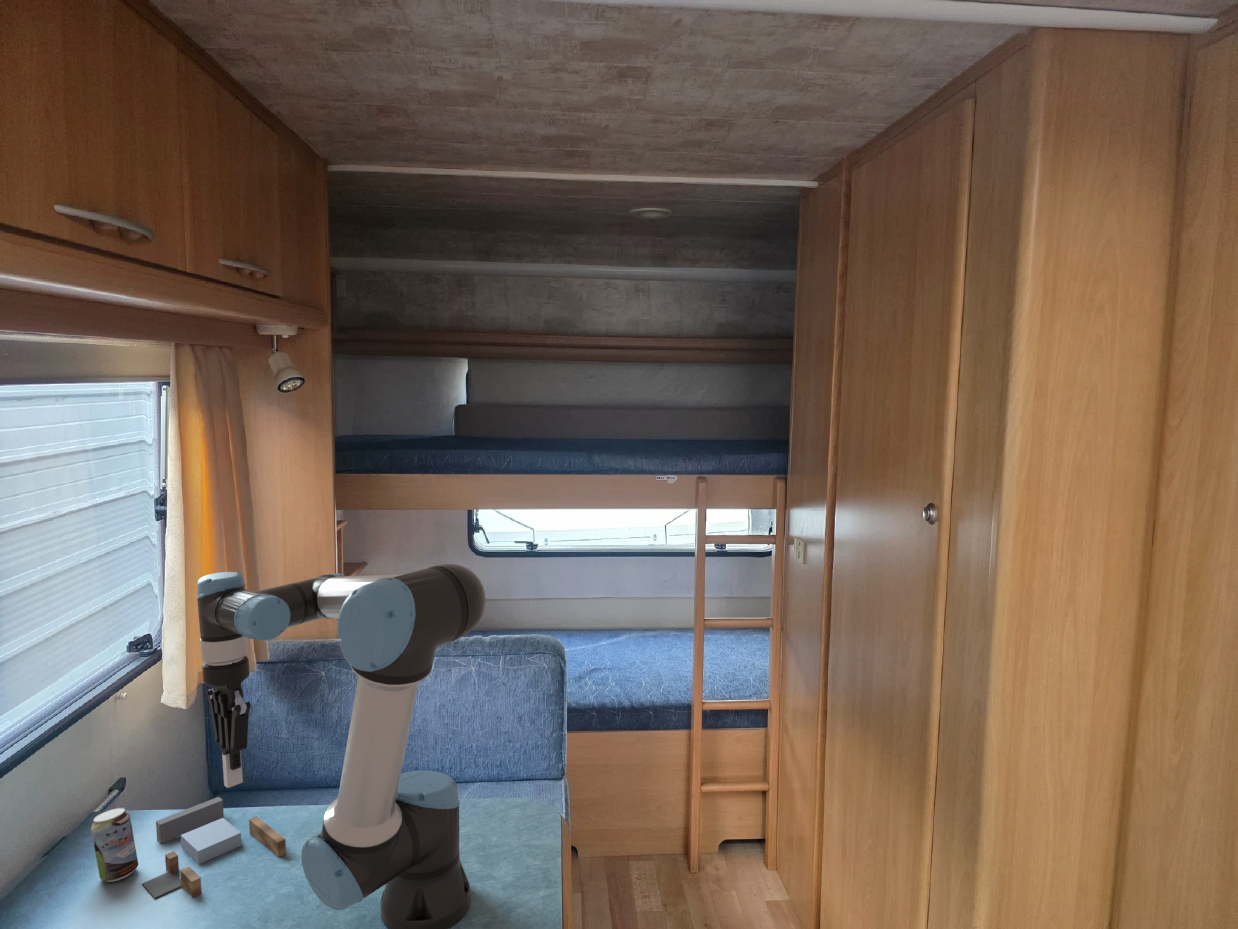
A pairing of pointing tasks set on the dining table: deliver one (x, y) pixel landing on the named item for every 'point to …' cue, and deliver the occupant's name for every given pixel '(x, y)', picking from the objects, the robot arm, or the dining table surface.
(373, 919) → the dining table surface
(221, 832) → the block
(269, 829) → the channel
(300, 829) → the dining table surface
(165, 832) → the end block
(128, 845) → the beverage can
